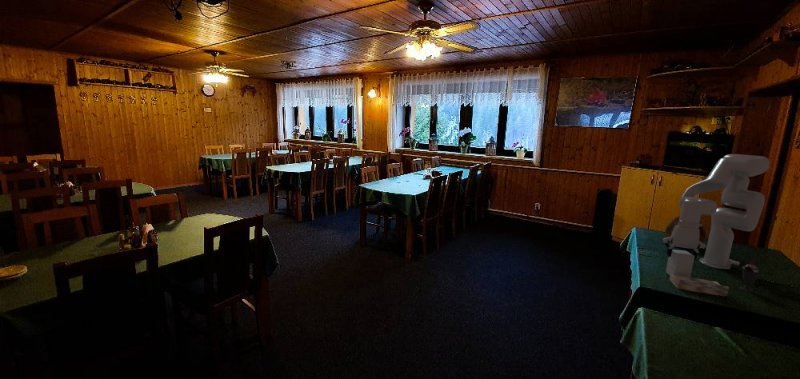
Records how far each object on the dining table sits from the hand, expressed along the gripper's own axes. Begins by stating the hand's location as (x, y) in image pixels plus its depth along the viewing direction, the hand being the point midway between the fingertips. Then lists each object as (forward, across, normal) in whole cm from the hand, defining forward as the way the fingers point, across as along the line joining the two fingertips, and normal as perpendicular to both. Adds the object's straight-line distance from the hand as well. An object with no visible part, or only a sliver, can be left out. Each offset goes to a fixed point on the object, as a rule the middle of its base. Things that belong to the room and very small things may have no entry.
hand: (680, 257), depth 168 cm
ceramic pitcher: (+9, -22, -58) cm, 62 cm away
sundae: (+10, -26, +3) cm, 28 cm away
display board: (+10, -5, +10) cm, 15 cm away
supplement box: (+10, -1, -1) cm, 10 cm away
